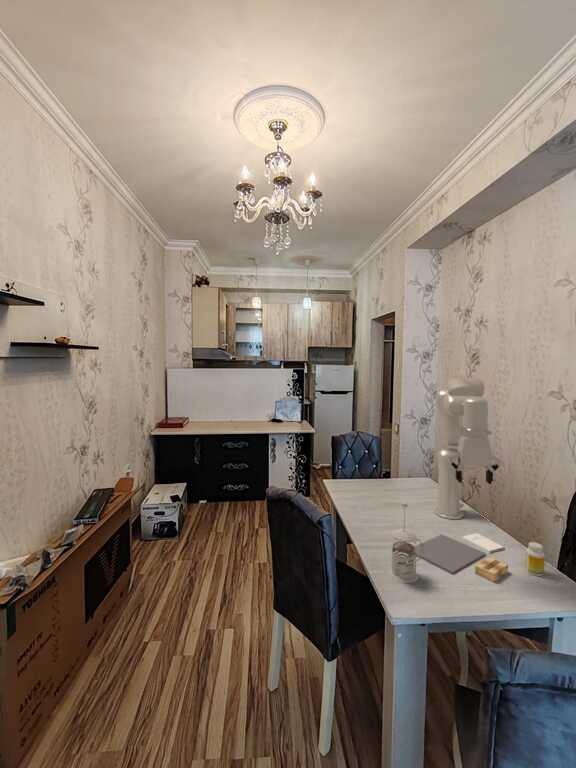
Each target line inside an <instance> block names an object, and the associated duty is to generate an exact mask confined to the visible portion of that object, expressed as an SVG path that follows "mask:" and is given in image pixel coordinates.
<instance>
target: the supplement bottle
mask: <svg viewBox="0 0 576 768" xmlns="http://www.w3.org/2000/svg"><path fill="white" fill-rule="evenodd" d="M543 550H544V546H543V545H542V544H540V543H538V542H533V541H531V542H529V543H528V548H526V549H525V561H524V562H525V563H524V569H525V571H526V572H527V573H529V574H530V575H532V576H536V577H537V576H538V577H542V576H543V575H545V559H546V556H545V553H544V551H543Z"/></svg>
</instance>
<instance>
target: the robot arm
mask: <svg viewBox="0 0 576 768" xmlns="http://www.w3.org/2000/svg"><path fill="white" fill-rule="evenodd" d="M484 384H485V383H484V381H482V380H481V378H478V377H454V378H451V379H450V380H448V382H447V383H446V386H445V387H446V389H441V390H438V391H437V392H436V395H435V402H436V405H437V409H438V411H439V416H440V441H441V444H443V445H444V446H453V447H457V448H449V447H448V448H441V449H439V450H438V451H437V452H436V453H437V454H436V457H437V458H436V459H437V466H438V485H437V486H438V490H437V491H438V496H437V506H436V507H435V508H434V514H435V515H437V516H439V517H441V518H443V519H447V520H461V519H462V518H464V513H463V512H462V511H461V508H464V507H465V506H464V503H463V502H461V483H462V482H463V481H462V480H463V471H475V470H476V469H477V468H485V469H486V471H485V482H486V483H487V484H488V485H492V482H493V481H494V474H495V471H497V470H498V469H499V468H500V465H501V464H502V462H503V460H502V459H500V458H498V457H497V456H494V455H493V454H492V446H491V441H490V438H489V436H491V435H492V433H493V432H492V430H489V427H488V425H489V424H488V422H489V402H488V400H487V399H486V398H484V393H485V385H484ZM461 417H463V419H462V420H463V424H462V425H461ZM493 461H494V463H493V464H492V462H493Z"/></svg>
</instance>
